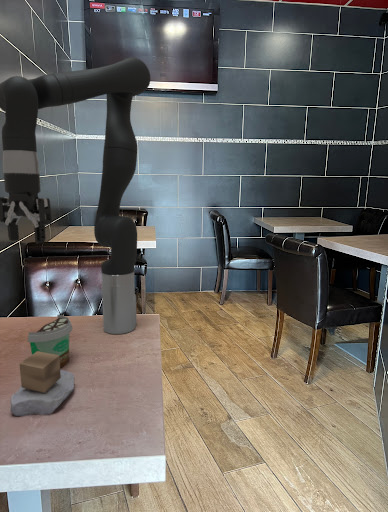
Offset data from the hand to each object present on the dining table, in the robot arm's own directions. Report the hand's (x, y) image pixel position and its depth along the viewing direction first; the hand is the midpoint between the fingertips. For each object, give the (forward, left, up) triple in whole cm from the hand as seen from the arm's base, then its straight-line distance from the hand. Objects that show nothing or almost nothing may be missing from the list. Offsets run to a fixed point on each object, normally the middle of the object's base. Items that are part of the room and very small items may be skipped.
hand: (26, 241), depth 87 cm
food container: (+2, +10, -28) cm, 30 cm away
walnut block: (+15, +18, -24) cm, 34 cm away
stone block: (+14, +18, -29) cm, 37 cm away
